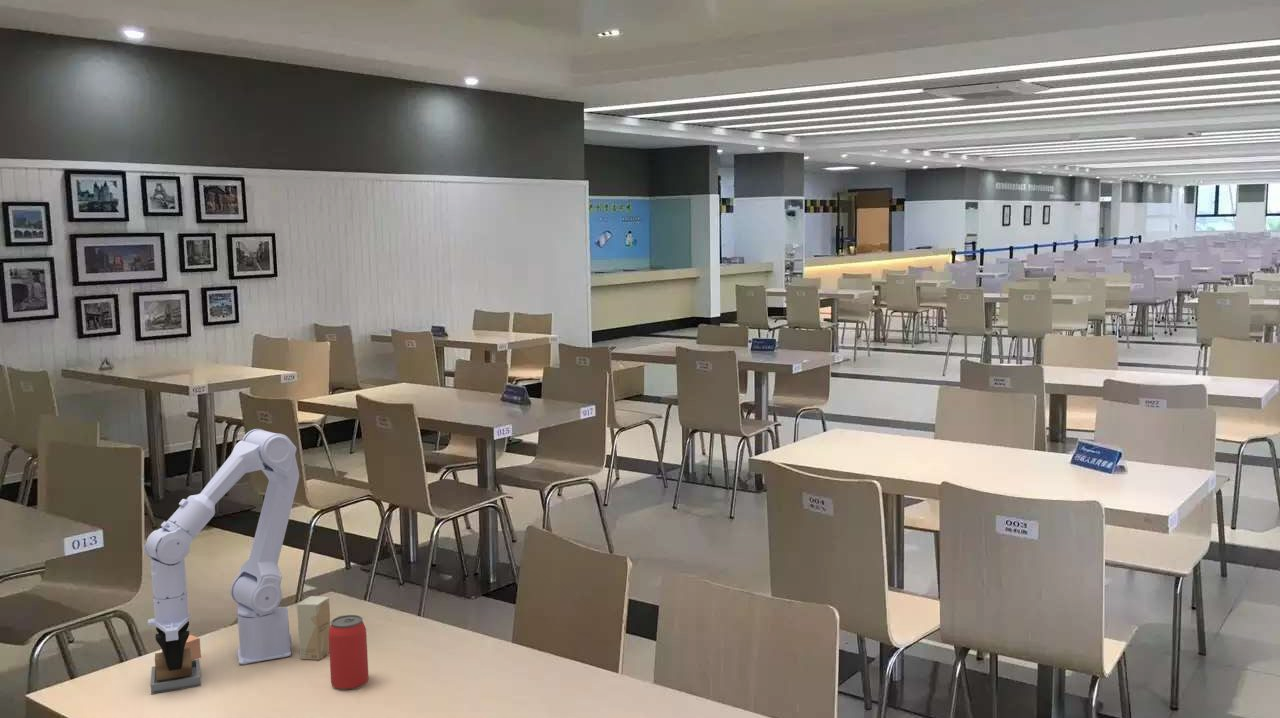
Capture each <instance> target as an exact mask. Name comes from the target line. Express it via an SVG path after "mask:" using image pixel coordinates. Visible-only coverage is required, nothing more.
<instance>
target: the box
mask: <svg viewBox="0 0 1280 718" xmlns="http://www.w3.org/2000/svg"><path fill="white" fill-rule="evenodd" d="M296 605H297V621H298V622H297V628H298V629H297V630H298V644H299V645H298V647H299V659H301V660H315V661H320V660H321V659H322V658H324V657H325V656H327V655H328V654H329V636H328V634H329V629H330V627H331V613H330V597H329V596H318V595H310V596H308V597H306V598H305V599H303V600H301V601H300V602H299V603H297V604H296Z"/></svg>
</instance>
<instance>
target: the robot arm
mask: <svg viewBox="0 0 1280 718" xmlns="http://www.w3.org/2000/svg"><path fill="white" fill-rule="evenodd" d="M296 453H297V447H296V445H295V444H294V443H293V442H292V440H291V438H289V437H288V436H287V435H285V434H283V433H276V432H272V431H267V430H264V429H263V428H254V429H251V430H249V431H248V432H246V434H244V436H243V438H242V439H241V440H239V441H238V442H237V443H236V444H235V446H234V447H233V449H232V451H231V453H230V455H229V456H228V457H227V459H226V460H225V461H224V463H222V465H221V466H220V467H219V469H218V470H217V471H216V472H215V474H214V475H213V476H212V477H211V479H210V480H209V481H208V483H207V484H206V485H205V486H204V488H203V489H202V490H201V492H200V493H197V494H193V495H189V496H188V497H187V498H182V499H181V500H180V502H179V503H178V505H179V507H178V508H177V509H176V511H175V512H173V513H172V515H170V517H169V518H168V519H167V520H166V521H165V520H164V521H163V522H162V523H161V524H160V527H161V528H158V529H155V530H154V531H152V532H151V533H150V534H149V535H148V537H147V539H146V543H145V545H143V552H144V553H145V554H146V556H147V557H149V558H150V559H149V560H150V571H151V572H150V574H151V575H150V576H151V588H152V601H153V615H154V618H153V617H152V618H150V619H148V620H147V626H149V627H151V626H152V627H153V626H155V630H156V632H157V633H155V637H154V638H155V641H156V643H157V644H158V645H159V647H160V648H161V652H162V651H163V653H164V656H165V660H166V664H167V667H168V669H169V671H171V670H177V669H181V668H182V663H183V653H184V647H185V644H186V641H187V639H188V637H189V635H190V630H188V628H189V626H190V619H191V615H190V613H189V601H188V587H187V574H186V564H185V563H186V562H185V558H186V557H188V554H189V553H190V550H191V543H192V542H193V540H194V539H195V538H196V537H197V536H198V534H200V532H201V531H202V530H203V528H204V527H206V525H207V524H208V523H209V522H210V521H211V520H212V518H213V517H214V516H215V514H216V509H215V508H216V507H215V506H216V504H217V503H218V502H219V501H220V500H221V499H222V498H223V497H224V496H225V495H226V494H227V493H228V492H229V491H230V490H231V489H232V488H233V487H234V485H235V484H236V483H238V481H239V480H241V478H242V477H243V476H244V475H245V474H246V473H252V472H257V471H262V473H263V474H264V475H265V477H266V478H267V480H268V483H267V487H266V490H265V494H264V495H265V496H264V497H263V498H264V499H263V502H262V506H261V511H260V515H259V518H258V523H257V526H256V529H255V534H254V537H253V538H254V539H253V541H252V546H251V550H250V552H249V553H250V554H249V558H248V559H247V560H246V561H245V562H244V563H243V564H242V565H241V566H240V569H239V573H238V575H237V576H236V578H235V579H234V580H233V581H232V584H231V585H230V596H231V599H232V600H233V602H235V603H236V604H237V626H238V641H239V642H238V643H239V648H237V658H238V664H239V665H246V664H251V663H252V664H253V663H257V662H262V661H263V662H264V661H269V660H275V659H281V658H286V657H287V658H288V657H291V656H292V652H291V644H292V637H291V636H292V635H291V633H290V620H289V611H288V607H287V606H279V605H280V604H281V601H282V597H283V595H282V594H283V593H282V588H281V587H282V586H281V583H282V580H283V578H282V577H283V575H282V573H281V571H280V568H279V565H278V564H279V559H280V555H281V552H282V548H283V544H284V540H285V535H286V532H287V529H288V527H287V526H288V523H289V521H290V515H291V511H292V507H293V503H294V499H295V495H296V491H297V489H298V488H297V487H298V483H299V479H300V471H299V467H298V462H297V458H296Z"/></svg>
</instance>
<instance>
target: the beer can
mask: <svg viewBox="0 0 1280 718" xmlns="http://www.w3.org/2000/svg"><path fill="white" fill-rule="evenodd" d="M363 620H364V619H363V617H362V616H361V615H357V614H345V615H339V616H337V617H334V618H333V619H332V620H330V629H329V634H328V636H329V653H328V654H329V666H330V667H329V669H330V671H329V672H330V683H331V685H332V687H333V688H335V689H337V690H340V691H341V690H343V691H350V690H355V689H358V688H361V687H362V686H364V685H366V684H367V682H368V681H369V676H370V675H369V659H368V658H369V656H368V639H367V629H366V625H365V622H364V621H363Z"/></svg>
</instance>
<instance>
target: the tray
mask: <svg viewBox="0 0 1280 718" xmlns="http://www.w3.org/2000/svg"><path fill="white" fill-rule="evenodd" d="M191 662H192V675H187V676H181V677H175V678H169V679H163V680H158V681H156V669H155V665H154V666H151V671H150V672H151V673H150V676H151V677H150V692H151V693H150V695H157V694H161V693H162V694H163V693H167V692H173V691H178V690H180V691H181V690H184V689H189V688H196V687H201V665H200V664H201V663H200V662H201V661H200V658H198V659H195V660H191Z"/></svg>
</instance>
